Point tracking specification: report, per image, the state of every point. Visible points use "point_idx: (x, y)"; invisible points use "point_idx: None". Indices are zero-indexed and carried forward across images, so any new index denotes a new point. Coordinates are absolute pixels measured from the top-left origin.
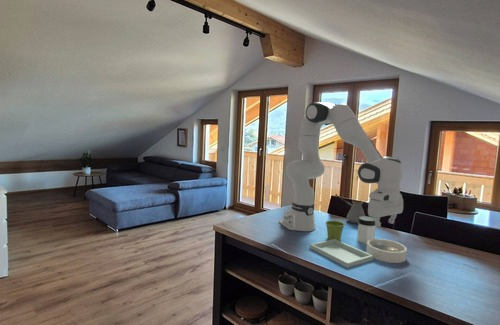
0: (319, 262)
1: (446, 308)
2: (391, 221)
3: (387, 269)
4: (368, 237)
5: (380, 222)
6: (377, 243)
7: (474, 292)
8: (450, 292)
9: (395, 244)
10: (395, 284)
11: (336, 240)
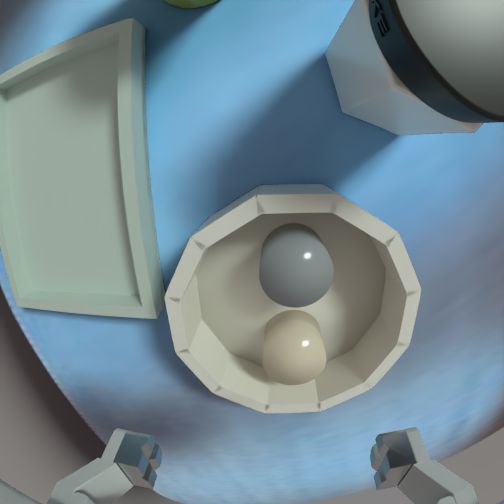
0: None
1: (160, 483)
2: (375, 473)
3: (169, 372)
4: (369, 112)
5: (147, 486)
6: (290, 259)
7: (288, 492)
8: (232, 481)
9: (398, 312)
10: (121, 418)
11: (120, 44)
